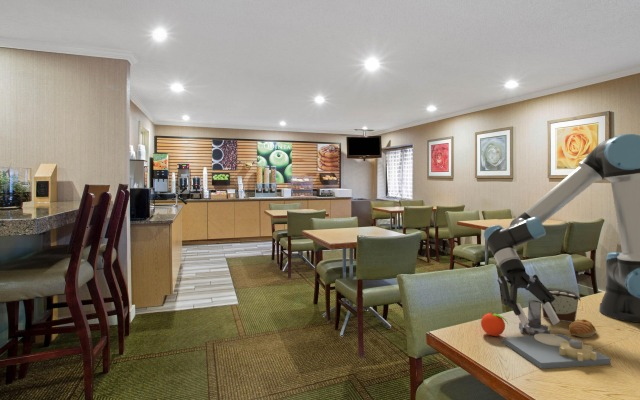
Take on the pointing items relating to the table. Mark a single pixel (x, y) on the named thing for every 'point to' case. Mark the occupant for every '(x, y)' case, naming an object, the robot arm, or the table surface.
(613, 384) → the table surface
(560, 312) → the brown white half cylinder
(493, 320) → the clementine
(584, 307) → the table surface
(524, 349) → the gear board
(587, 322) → the pastry
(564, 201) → the robot arm
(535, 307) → the gear
